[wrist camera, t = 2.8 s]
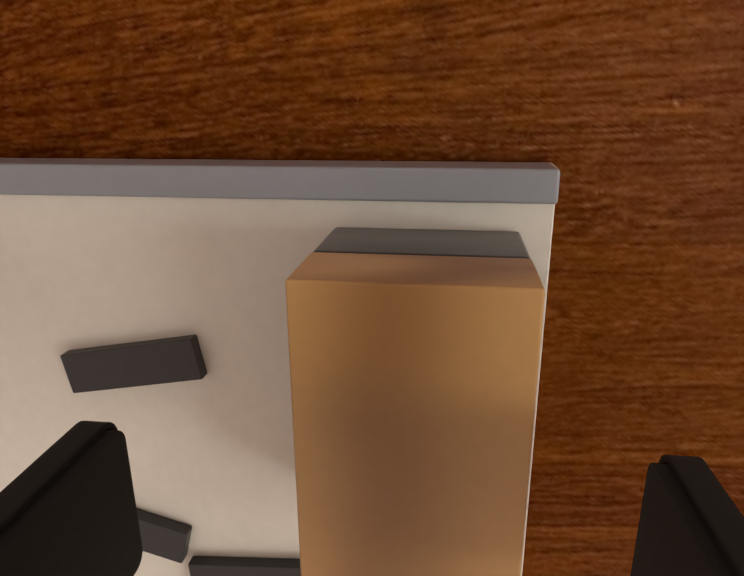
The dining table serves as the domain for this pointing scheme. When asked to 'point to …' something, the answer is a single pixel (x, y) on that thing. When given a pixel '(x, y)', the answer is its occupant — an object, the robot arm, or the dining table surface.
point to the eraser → (413, 401)
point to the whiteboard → (206, 311)
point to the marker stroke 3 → (243, 566)
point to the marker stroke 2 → (164, 536)
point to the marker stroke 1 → (134, 364)
